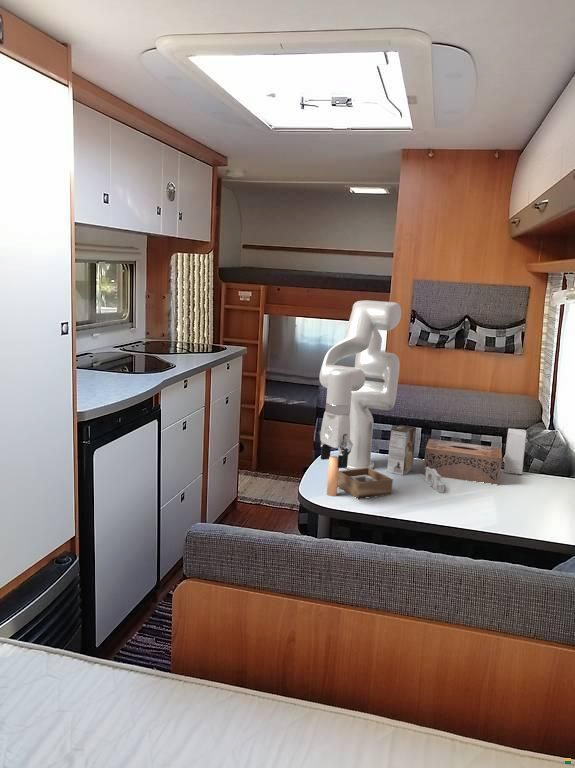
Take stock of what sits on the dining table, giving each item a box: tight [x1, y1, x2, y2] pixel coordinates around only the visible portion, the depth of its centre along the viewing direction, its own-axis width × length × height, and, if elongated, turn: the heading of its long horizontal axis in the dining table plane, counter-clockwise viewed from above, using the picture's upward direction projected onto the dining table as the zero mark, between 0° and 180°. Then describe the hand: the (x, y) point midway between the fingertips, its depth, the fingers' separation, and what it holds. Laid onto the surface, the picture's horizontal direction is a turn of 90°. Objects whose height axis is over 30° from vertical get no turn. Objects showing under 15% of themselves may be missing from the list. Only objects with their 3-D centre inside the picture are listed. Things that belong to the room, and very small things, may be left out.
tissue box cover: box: [422, 438, 503, 486], centre depth 221 cm, size 26×14×10 cm, turn 73°
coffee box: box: [387, 424, 417, 476], centre depth 220 cm, size 9×6×16 cm
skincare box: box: [503, 428, 527, 475], centre depth 228 cm, size 8×7×16 cm
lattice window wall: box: [424, 467, 445, 494], centre depth 205 cm, size 12×2×6 cm, turn 13°
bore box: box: [337, 467, 394, 500], centre depth 198 cm, size 13×13×5 cm
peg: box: [326, 455, 340, 497], centre depth 192 cm, size 3×3×12 cm
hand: (333, 463), depth 190 cm, fingers open, 9 cm apart
